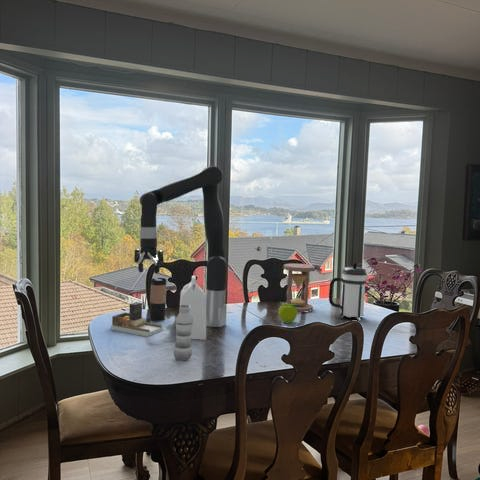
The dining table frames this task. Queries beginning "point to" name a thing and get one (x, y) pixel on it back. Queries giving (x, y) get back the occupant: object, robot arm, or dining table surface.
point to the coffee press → (351, 291)
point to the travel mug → (158, 299)
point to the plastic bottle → (183, 334)
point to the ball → (125, 319)
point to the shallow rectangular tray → (139, 329)
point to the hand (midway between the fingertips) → (148, 272)
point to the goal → (118, 319)
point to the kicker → (135, 315)
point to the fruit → (287, 312)
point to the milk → (195, 307)
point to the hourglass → (299, 279)
